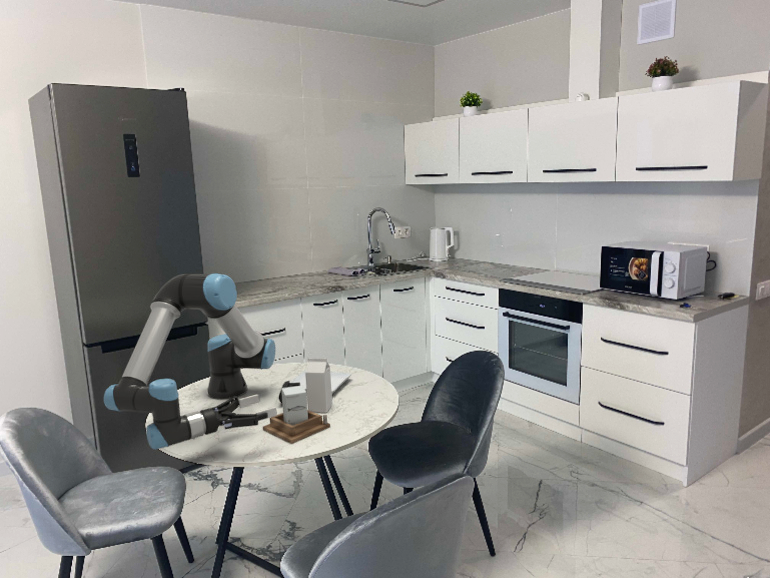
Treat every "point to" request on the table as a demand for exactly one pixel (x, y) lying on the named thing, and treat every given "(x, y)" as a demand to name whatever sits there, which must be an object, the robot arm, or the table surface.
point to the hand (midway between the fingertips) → (267, 404)
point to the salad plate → (336, 379)
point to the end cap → (286, 385)
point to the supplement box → (294, 405)
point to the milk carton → (318, 385)
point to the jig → (296, 427)
